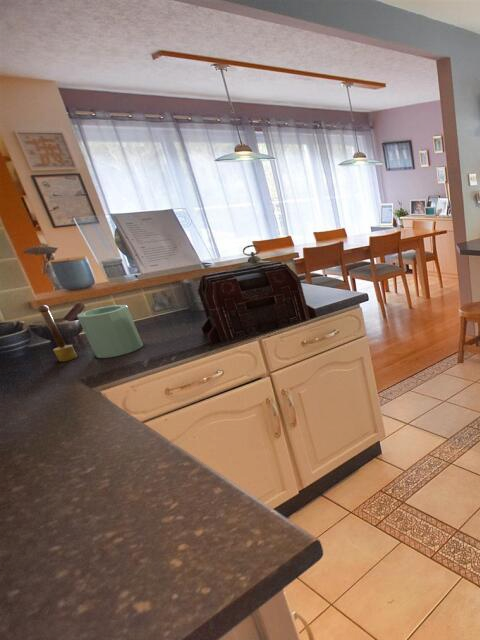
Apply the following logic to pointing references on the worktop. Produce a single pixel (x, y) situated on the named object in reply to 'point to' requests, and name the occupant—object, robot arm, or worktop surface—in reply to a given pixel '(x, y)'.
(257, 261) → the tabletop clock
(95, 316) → the jar
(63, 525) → the worktop surface
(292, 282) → the crate
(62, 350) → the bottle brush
